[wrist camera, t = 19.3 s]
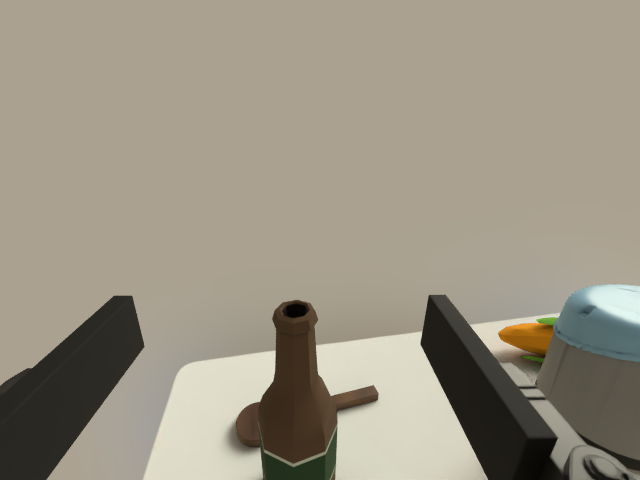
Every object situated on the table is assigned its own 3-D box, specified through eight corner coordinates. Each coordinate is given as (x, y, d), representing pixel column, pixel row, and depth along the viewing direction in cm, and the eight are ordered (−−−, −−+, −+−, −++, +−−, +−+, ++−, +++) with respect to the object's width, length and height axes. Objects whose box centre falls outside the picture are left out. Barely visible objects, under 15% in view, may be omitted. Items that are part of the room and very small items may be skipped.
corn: (654, 341, 46) (513, 328, 48) (637, 382, 48) (504, 367, 51) (616, 315, 53) (495, 305, 55) (603, 352, 55) (487, 340, 58)
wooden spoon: (367, 380, 48) (368, 375, 48) (384, 411, 43) (385, 405, 43) (235, 413, 42) (235, 407, 42) (237, 452, 37) (237, 446, 37)
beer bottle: (333, 457, 37) (340, 286, 28) (335, 538, 30) (344, 342, 21) (270, 455, 37) (257, 284, 28) (256, 535, 30) (233, 339, 21)
